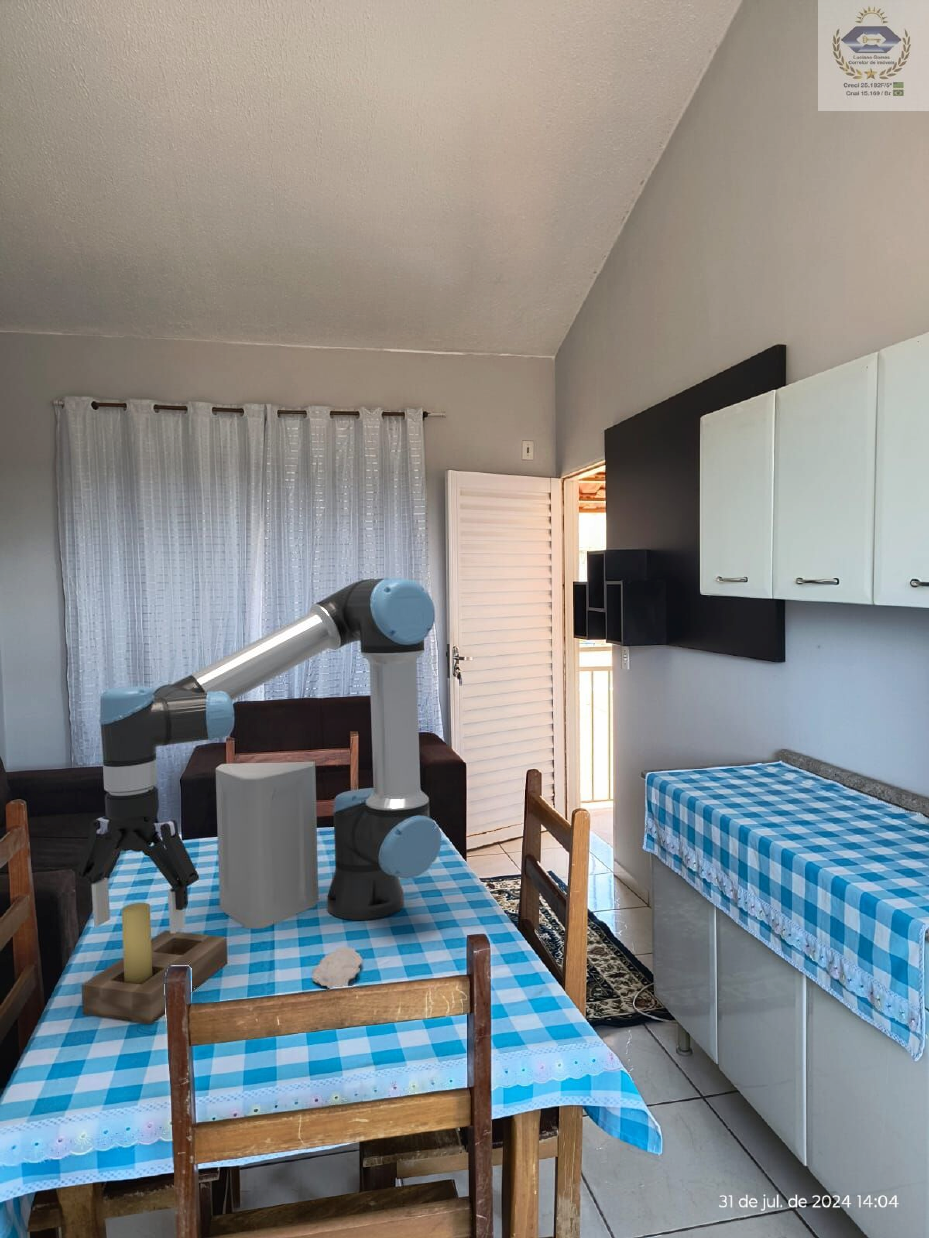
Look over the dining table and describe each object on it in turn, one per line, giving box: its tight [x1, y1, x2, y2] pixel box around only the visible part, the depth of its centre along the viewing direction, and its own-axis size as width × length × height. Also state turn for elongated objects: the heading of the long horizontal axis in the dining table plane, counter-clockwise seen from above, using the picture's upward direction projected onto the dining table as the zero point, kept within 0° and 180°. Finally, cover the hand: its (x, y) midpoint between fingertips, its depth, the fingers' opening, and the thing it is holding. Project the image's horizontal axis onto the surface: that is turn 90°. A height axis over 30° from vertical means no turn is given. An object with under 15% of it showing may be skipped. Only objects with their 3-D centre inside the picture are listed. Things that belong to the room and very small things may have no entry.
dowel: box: [121, 902, 152, 985], centre depth 125 cm, size 4×4×14 cm
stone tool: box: [311, 946, 364, 989], centre depth 133 cm, size 8×3×15 cm
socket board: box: [81, 930, 228, 1026], centre depth 130 cm, size 12×20×4 cm, turn 164°
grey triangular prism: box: [215, 761, 319, 930], centre depth 159 cm, size 19×15×28 cm
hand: (139, 926), depth 125 cm, fingers open, 13 cm apart
